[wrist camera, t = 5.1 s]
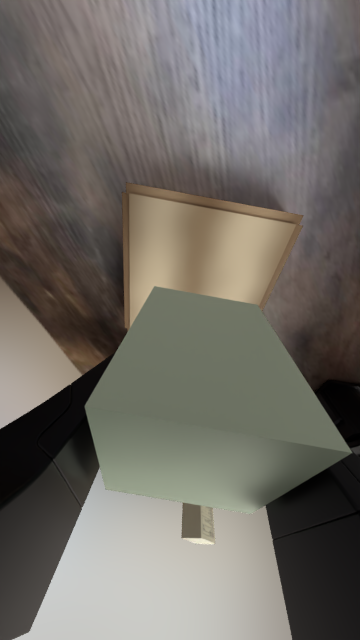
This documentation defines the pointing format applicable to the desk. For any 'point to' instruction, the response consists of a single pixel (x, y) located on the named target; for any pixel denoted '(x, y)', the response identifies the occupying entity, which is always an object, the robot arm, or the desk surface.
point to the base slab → (201, 246)
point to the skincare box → (198, 524)
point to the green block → (207, 408)
